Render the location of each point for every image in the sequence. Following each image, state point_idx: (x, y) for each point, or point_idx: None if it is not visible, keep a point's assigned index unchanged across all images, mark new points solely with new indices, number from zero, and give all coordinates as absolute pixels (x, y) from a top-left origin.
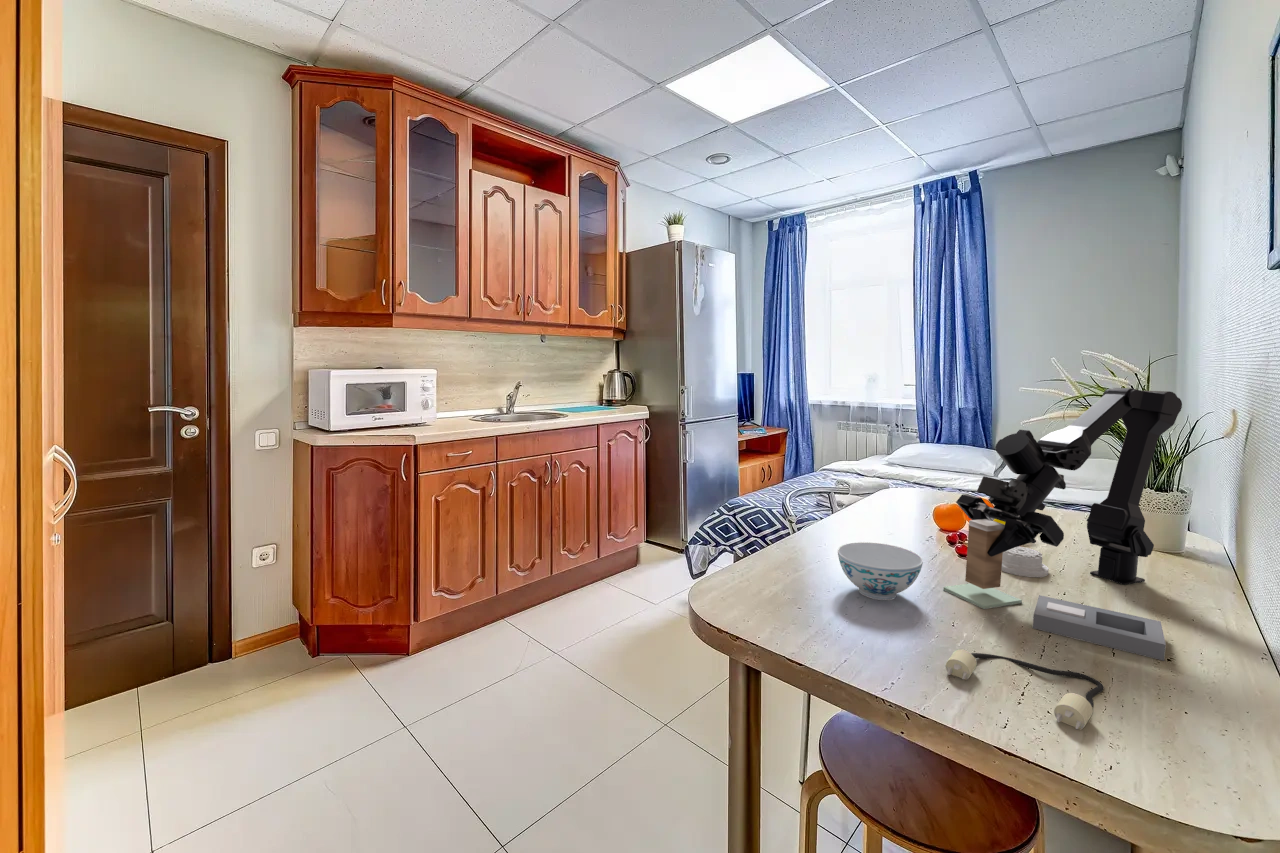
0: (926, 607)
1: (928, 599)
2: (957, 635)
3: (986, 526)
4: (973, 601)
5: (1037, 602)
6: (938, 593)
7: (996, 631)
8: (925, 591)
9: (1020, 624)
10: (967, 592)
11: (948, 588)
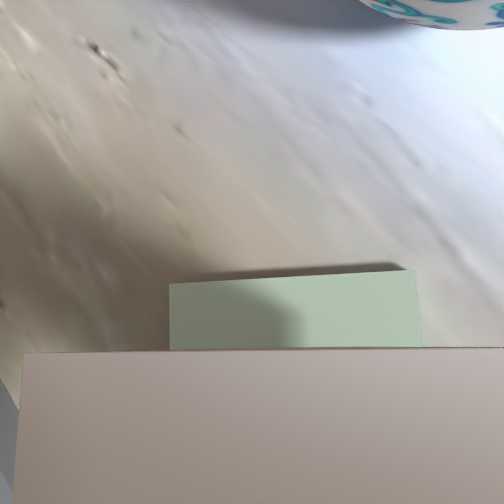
0: (254, 59)
1: (325, 122)
2: (31, 10)
3: (61, 356)
4: (228, 280)
5: (5, 483)
6: (377, 216)
7: (5, 165)
8: (412, 173)
9: (14, 312)
10: (323, 336)
11: (391, 279)
